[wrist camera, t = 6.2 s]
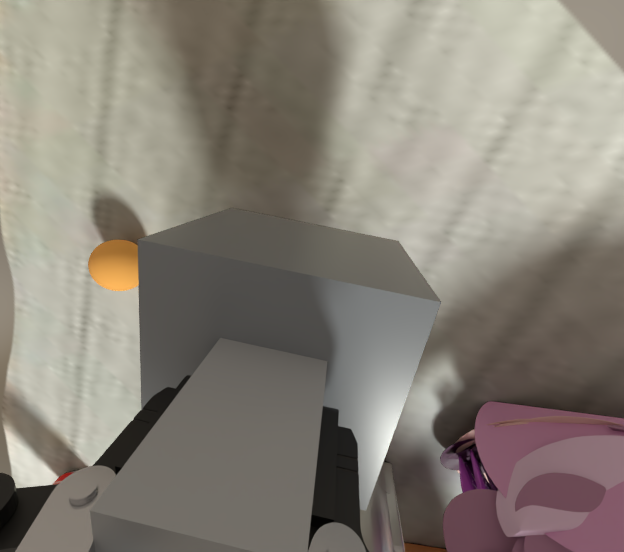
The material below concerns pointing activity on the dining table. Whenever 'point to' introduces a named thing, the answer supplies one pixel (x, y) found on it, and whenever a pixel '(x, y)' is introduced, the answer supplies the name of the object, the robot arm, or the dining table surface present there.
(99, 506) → the grey stepped block
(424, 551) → the whiskey bottle
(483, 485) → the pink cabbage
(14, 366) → the dining table surface
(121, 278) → the ball
